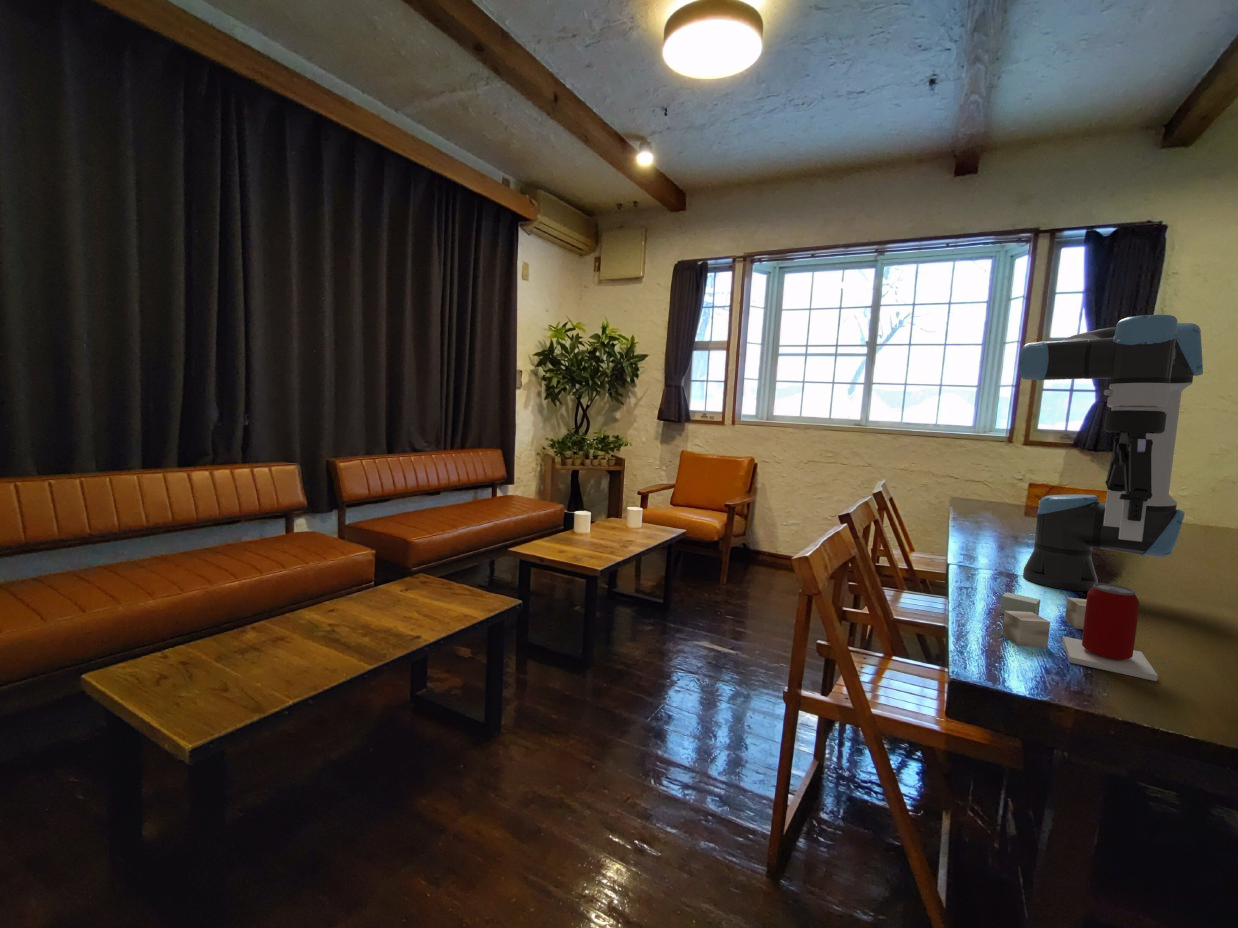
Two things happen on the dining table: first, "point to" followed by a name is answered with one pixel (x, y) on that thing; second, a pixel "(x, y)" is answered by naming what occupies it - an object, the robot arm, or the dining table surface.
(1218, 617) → the dining table surface
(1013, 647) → the dining table surface
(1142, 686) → the dining table surface
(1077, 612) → the beech block
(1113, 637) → the beverage can
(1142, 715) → the dining table surface
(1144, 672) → the plate
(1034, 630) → the maple block
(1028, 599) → the sage block
